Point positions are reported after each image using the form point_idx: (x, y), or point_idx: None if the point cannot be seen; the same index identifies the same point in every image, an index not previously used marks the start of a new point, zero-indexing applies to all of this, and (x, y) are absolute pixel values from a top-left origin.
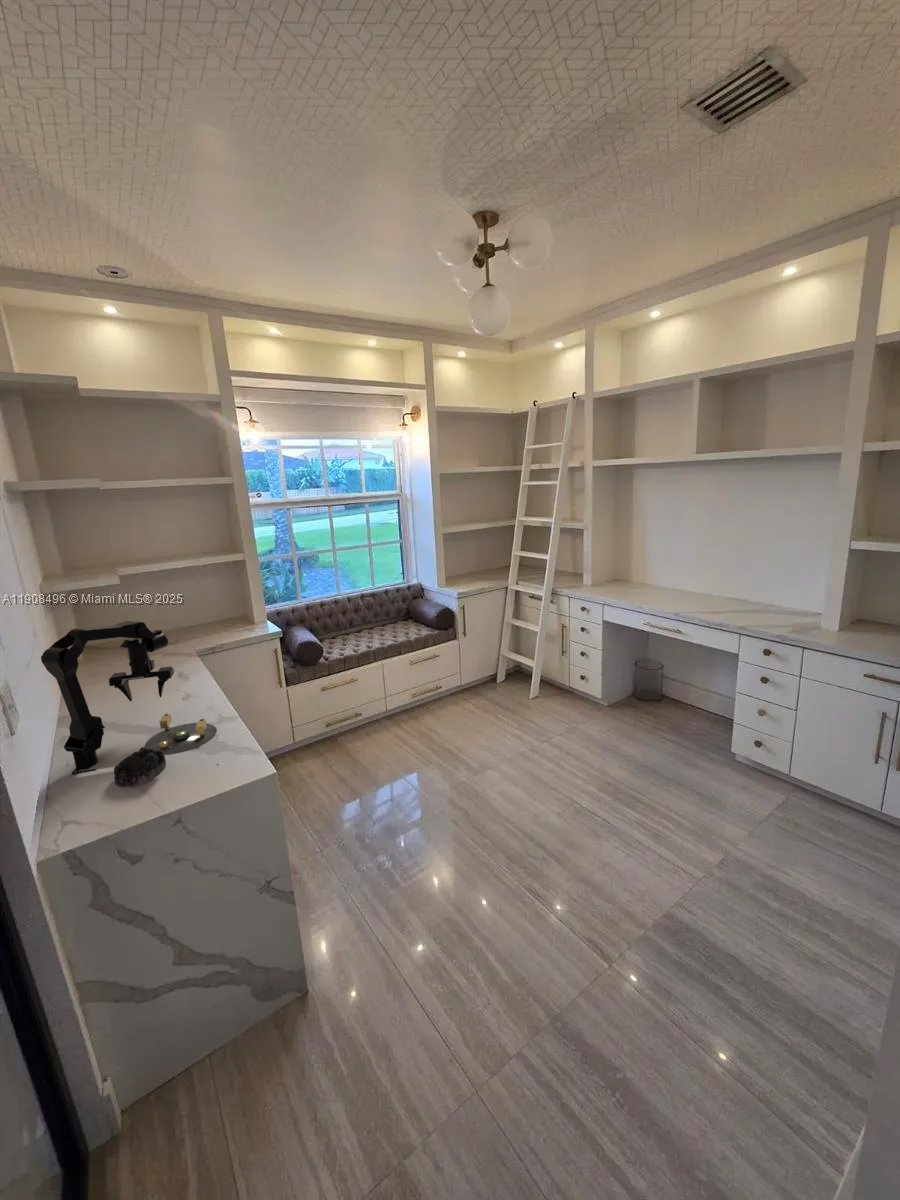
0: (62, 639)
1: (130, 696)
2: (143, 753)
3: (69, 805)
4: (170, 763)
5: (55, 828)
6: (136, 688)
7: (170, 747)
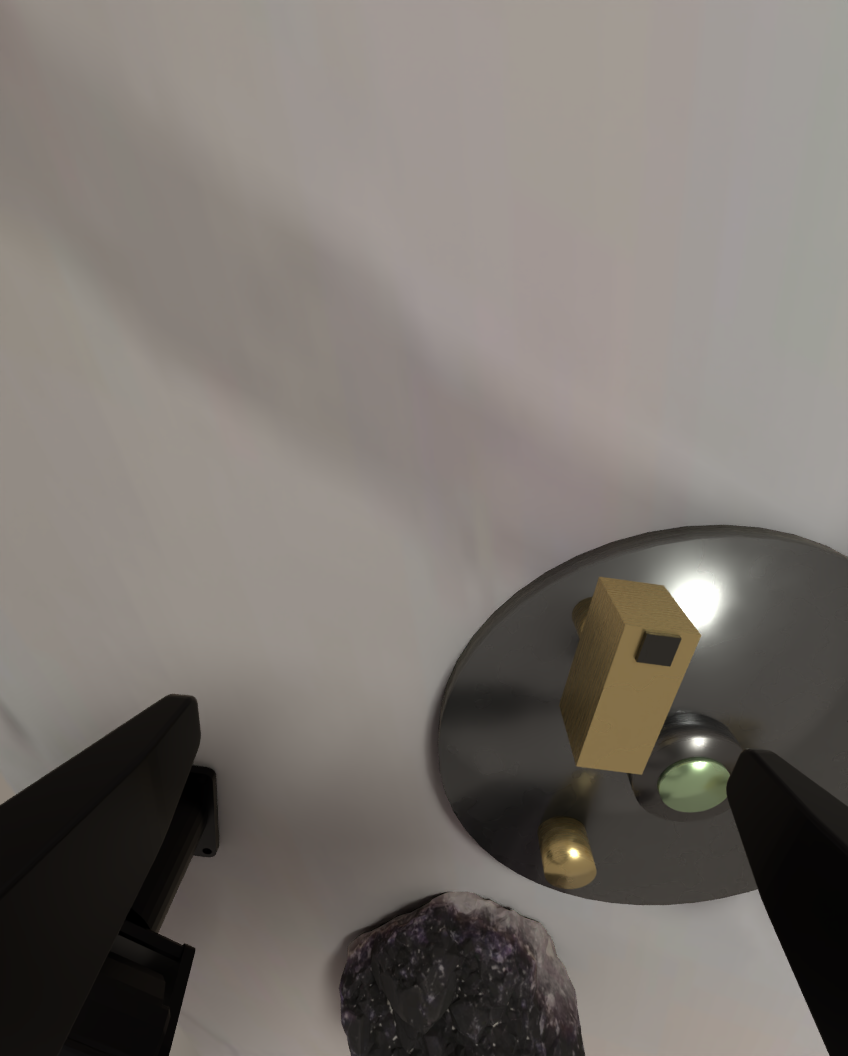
0: None
1: (142, 835)
2: None
3: (224, 1009)
4: (583, 918)
5: None
6: None
7: (598, 838)
